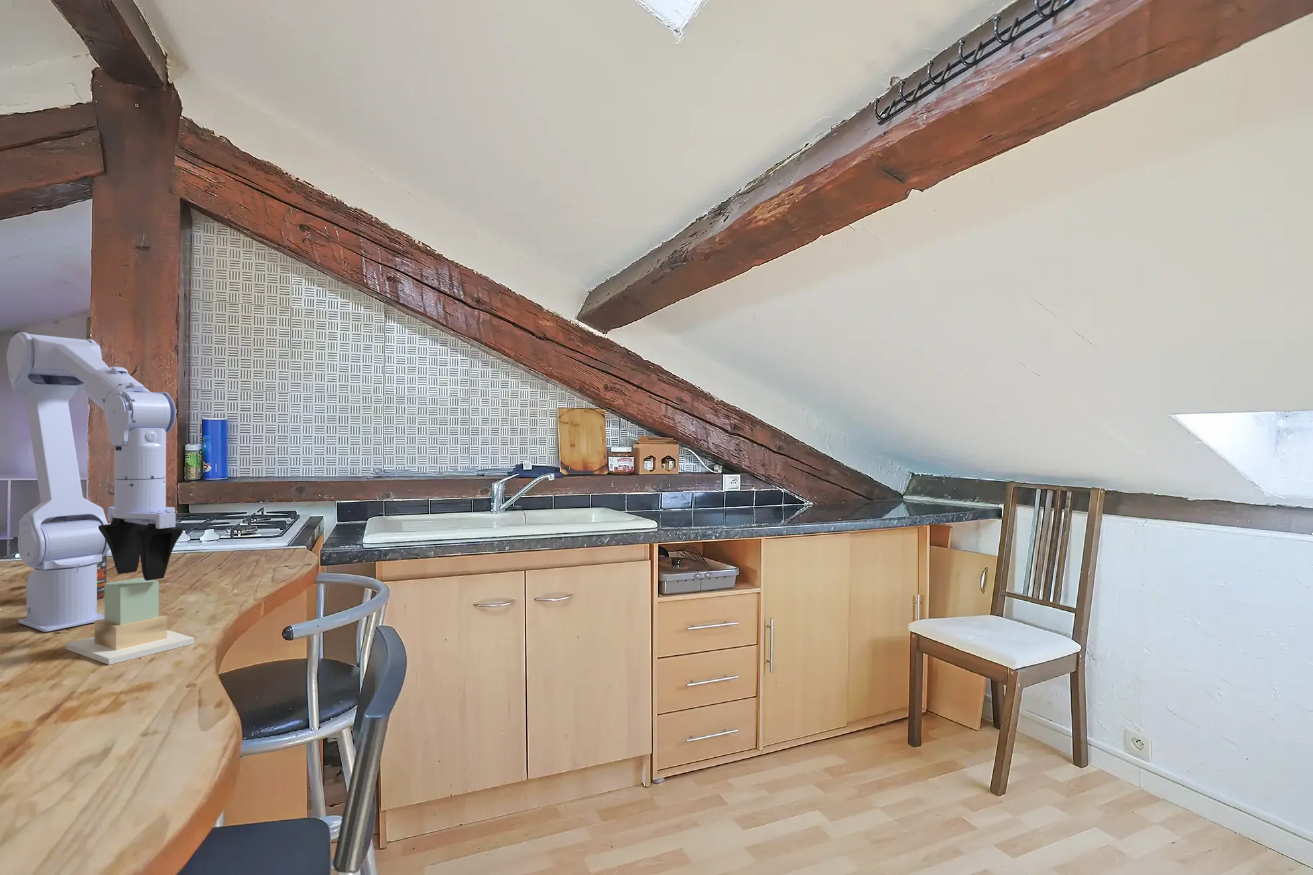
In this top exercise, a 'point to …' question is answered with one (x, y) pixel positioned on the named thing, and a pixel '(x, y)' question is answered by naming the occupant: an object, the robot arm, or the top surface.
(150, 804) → the top surface
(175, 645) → the build base
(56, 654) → the top surface
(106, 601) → the sage block
